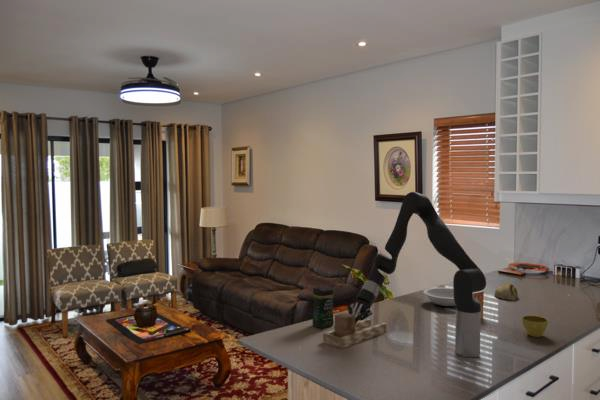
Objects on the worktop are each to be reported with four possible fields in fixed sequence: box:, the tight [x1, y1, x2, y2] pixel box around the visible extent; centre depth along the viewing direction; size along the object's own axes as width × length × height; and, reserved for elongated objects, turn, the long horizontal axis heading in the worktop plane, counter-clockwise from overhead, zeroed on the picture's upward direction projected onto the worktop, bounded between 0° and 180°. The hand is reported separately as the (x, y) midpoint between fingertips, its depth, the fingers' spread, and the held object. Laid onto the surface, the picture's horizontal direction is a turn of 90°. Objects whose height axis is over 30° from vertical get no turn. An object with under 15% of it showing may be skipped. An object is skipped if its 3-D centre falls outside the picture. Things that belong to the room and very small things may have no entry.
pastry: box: [494, 284, 519, 302], centre depth 269 cm, size 14×12×8 cm
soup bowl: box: [423, 287, 456, 307], centre depth 254 cm, size 24×24×7 cm
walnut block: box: [334, 312, 355, 338], centre depth 199 cm, size 6×6×10 cm
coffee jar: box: [312, 284, 335, 329], centre depth 219 cm, size 10×8×19 cm
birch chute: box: [322, 317, 387, 349], centre depth 204 cm, size 30×10×4 cm, turn 133°
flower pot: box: [521, 315, 549, 338], centre depth 205 cm, size 10×10×7 cm
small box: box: [472, 290, 485, 318], centre depth 232 cm, size 8×6×13 cm
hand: (350, 326), depth 201 cm, fingers closed
